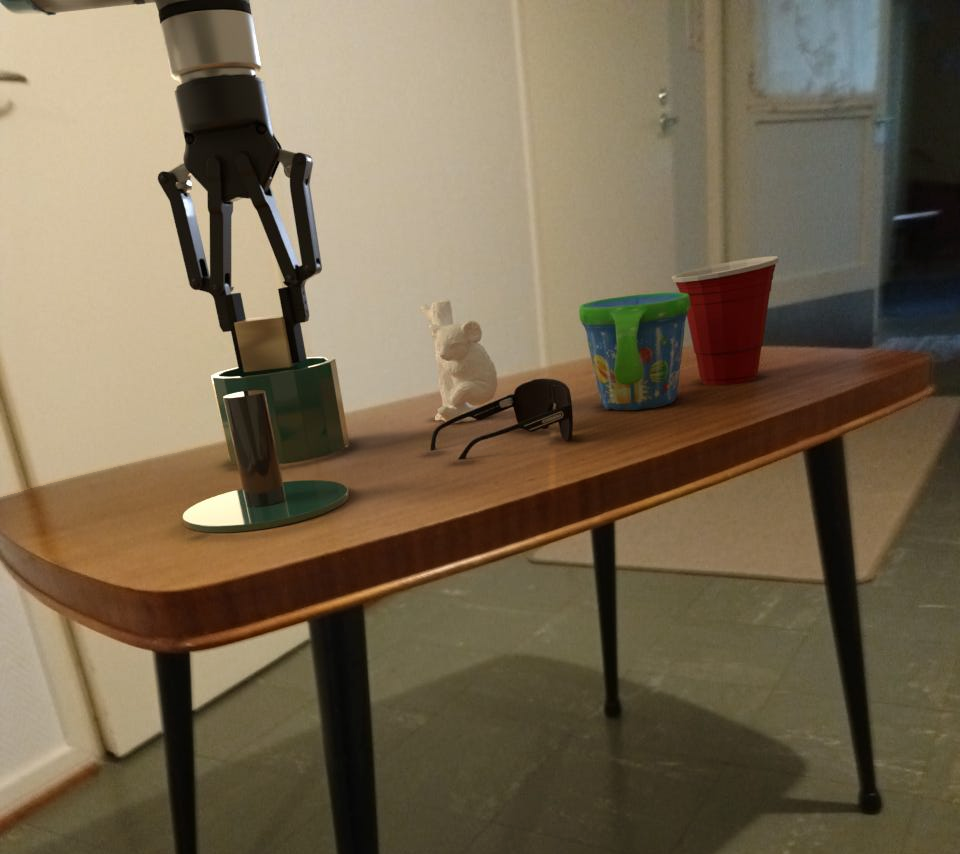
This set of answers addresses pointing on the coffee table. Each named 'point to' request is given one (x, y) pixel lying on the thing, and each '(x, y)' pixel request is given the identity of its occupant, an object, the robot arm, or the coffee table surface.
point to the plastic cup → (728, 317)
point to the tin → (292, 407)
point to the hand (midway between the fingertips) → (273, 363)
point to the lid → (260, 479)
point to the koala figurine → (460, 363)
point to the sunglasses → (526, 410)
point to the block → (263, 343)
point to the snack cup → (636, 348)
